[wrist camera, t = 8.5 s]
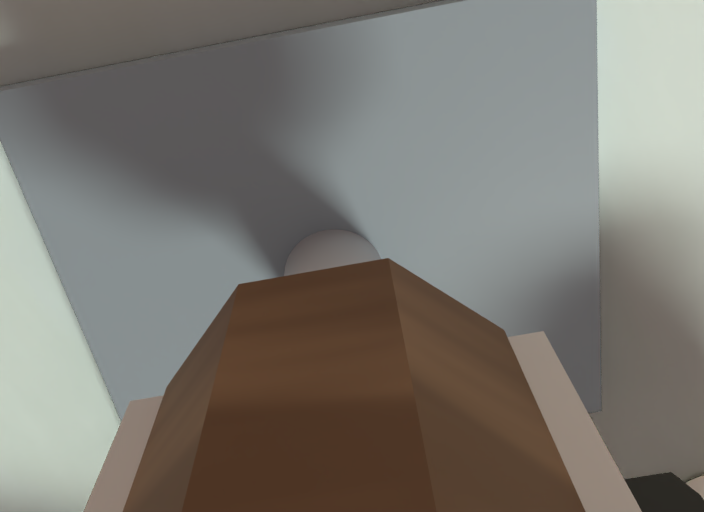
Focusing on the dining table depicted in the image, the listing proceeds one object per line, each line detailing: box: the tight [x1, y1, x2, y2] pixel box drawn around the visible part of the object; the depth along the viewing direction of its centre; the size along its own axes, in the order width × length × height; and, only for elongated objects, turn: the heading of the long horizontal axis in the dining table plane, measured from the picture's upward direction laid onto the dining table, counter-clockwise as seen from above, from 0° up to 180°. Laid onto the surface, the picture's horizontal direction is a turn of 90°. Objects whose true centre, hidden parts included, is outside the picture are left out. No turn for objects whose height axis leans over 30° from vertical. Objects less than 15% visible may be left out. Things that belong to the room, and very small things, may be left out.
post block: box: [0, 0, 602, 421], centre depth 16 cm, size 16×14×11 cm
